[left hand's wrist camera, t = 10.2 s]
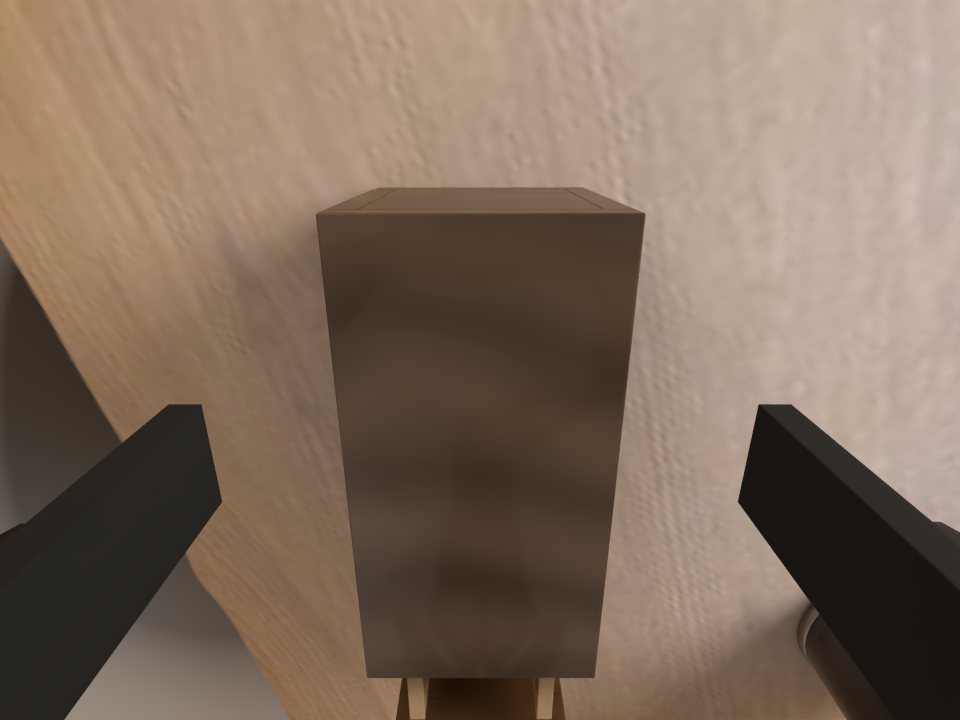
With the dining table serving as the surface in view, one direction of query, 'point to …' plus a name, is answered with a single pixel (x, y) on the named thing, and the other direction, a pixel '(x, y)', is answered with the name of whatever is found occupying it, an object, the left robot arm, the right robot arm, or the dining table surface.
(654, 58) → the dining table surface
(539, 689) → the drawer
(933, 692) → the left robot arm
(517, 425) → the cabinet
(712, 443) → the dining table surface
